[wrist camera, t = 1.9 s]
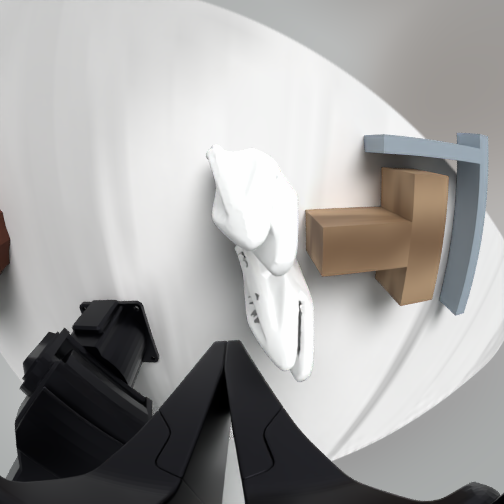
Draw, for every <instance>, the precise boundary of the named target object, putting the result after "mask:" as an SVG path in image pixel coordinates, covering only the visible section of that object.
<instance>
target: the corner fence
mask: <svg viewBox="0 0 504 504" xmlns="http://www.w3.org/2000/svg"><path fill="white" fill-rule="evenodd" d="M364 143H365V152H374V153H388V154H403V155H415V156H425V157H435V158H443V159H451V160H457V188H456V203H455V214H454V223H453V231H452V238H451V245H450V251H449V257H448V263H447V268H446V273H445V277H444V282H443V286H442V291H441V295H440V299H439V300H440V301H441V302H442V303H443V304H444V305H445V306H446V307H447V308H448V309H449V310H450V311H451V312H452V313H453V314H454V315H455V316H456V315H459V314H462V313H464V310H465V307H466V304H467V300H468V297H469V293H470V290H471V286H472V282H473V278H474V274H475V269H476V265H477V260H478V255H479V250H480V245H481V239H482V233H483V226H484V218H485V209H486V199H487V185H488V136H485V135H481V134H470V133H457V144H453V143H447V142H441V141H435V140H428V139H421V138H413V137H405V136H395V135H384V134H383V135H365V136H364Z"/></svg>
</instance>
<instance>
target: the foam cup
mask: <svg viewBox="0 0 504 504" xmlns="http://www.w3.org/2000/svg"><path fill="white" fill-rule="evenodd" d="M222 504H245V500H244V494H243V488H242V481H241V477H240V471H239V466H238V460H237V454H236V448H235V442H234V437H233V438H230V439H229V444H228V453H227V462H226V471H225V480H224V489H223V499H222Z"/></svg>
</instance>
